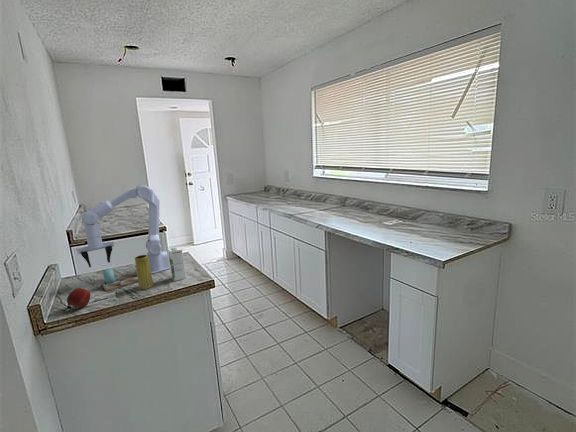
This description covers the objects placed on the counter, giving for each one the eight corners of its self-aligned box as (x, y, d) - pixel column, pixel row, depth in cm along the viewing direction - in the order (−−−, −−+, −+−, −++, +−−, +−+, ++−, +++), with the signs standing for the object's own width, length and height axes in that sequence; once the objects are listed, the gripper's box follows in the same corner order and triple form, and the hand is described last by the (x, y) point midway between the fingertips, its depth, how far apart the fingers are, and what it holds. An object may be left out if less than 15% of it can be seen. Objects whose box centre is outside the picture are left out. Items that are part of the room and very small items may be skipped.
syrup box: (171, 277, 144) (166, 248, 141) (184, 274, 146) (180, 246, 143) (173, 281, 139) (168, 252, 136) (186, 278, 142) (182, 249, 138)
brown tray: (136, 274, 150) (135, 270, 150) (141, 281, 142) (141, 276, 142) (101, 284, 141) (100, 280, 141) (105, 291, 133) (104, 287, 132)
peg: (115, 282, 141) (112, 268, 140) (116, 284, 138) (113, 270, 137) (105, 284, 139) (102, 270, 138) (106, 287, 136) (103, 273, 134)
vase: (150, 282, 140) (145, 253, 137) (155, 286, 135) (150, 256, 132) (137, 287, 136) (131, 257, 133) (141, 290, 131) (136, 260, 128)
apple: (92, 307, 119) (88, 288, 117) (68, 314, 115) (63, 295, 113) (92, 300, 125) (88, 282, 124) (69, 306, 121) (65, 288, 120)
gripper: (109, 231, 146) (115, 258, 148) (73, 238, 137) (80, 266, 139) (112, 234, 140) (118, 261, 143) (75, 241, 131) (82, 270, 134)
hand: (99, 264), depth 141 cm, fingers open, 7 cm apart
